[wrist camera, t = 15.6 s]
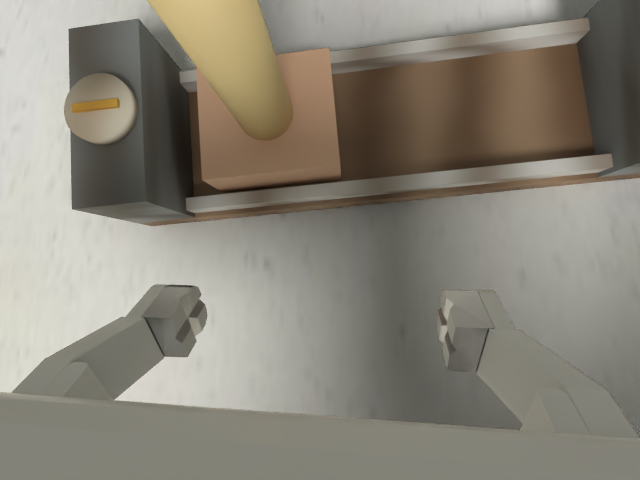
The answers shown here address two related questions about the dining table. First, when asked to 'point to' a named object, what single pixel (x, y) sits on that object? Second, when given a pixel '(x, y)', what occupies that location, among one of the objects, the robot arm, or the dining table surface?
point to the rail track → (369, 119)
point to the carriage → (255, 98)
